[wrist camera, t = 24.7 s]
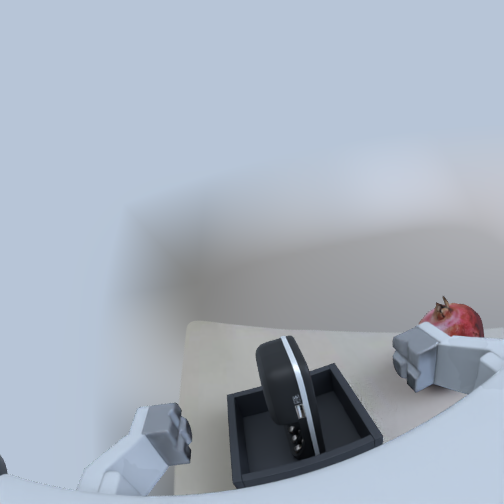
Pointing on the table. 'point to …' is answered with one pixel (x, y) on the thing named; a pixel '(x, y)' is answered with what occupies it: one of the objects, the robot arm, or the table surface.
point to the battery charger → (291, 395)
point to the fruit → (455, 320)
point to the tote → (275, 440)
